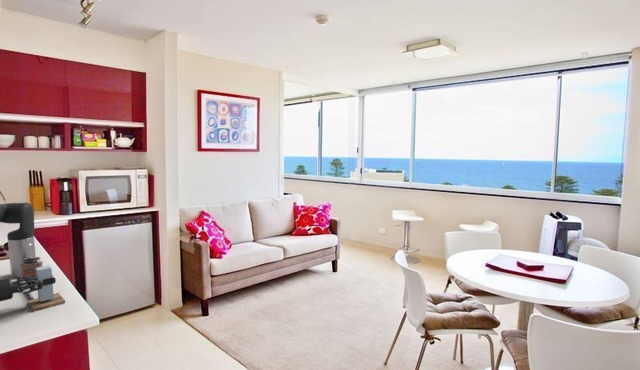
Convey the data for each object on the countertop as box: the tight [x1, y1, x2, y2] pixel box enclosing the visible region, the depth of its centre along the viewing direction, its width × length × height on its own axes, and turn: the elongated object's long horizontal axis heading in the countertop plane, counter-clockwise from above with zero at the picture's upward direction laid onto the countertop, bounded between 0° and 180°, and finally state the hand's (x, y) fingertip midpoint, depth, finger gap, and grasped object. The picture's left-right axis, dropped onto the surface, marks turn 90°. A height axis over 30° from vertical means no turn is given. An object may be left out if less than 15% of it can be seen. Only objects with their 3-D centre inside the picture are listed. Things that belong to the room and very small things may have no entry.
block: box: [36, 264, 54, 302], centre depth 135 cm, size 4×4×12 cm
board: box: [27, 292, 66, 312], centre depth 135 cm, size 10×10×1 cm
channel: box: [26, 292, 35, 300], centre depth 145 cm, size 16×7×2 cm, turn 48°
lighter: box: [21, 256, 44, 277], centre depth 159 cm, size 8×3×10 cm, turn 105°
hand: (53, 278), depth 137 cm, fingers closed on block, 4 cm apart
